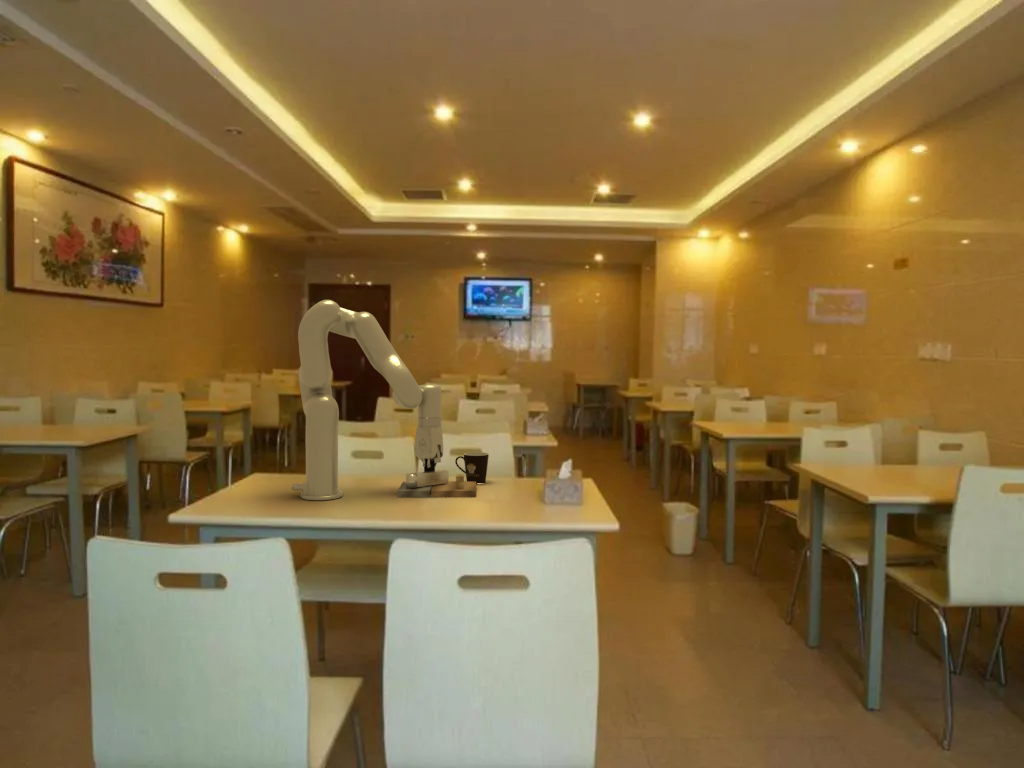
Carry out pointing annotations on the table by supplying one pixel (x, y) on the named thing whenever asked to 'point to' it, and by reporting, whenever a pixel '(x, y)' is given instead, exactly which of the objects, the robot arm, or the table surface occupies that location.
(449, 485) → the wooden flat block
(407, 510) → the table surface
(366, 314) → the robot arm
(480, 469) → the coffee mug
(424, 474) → the lock bar
